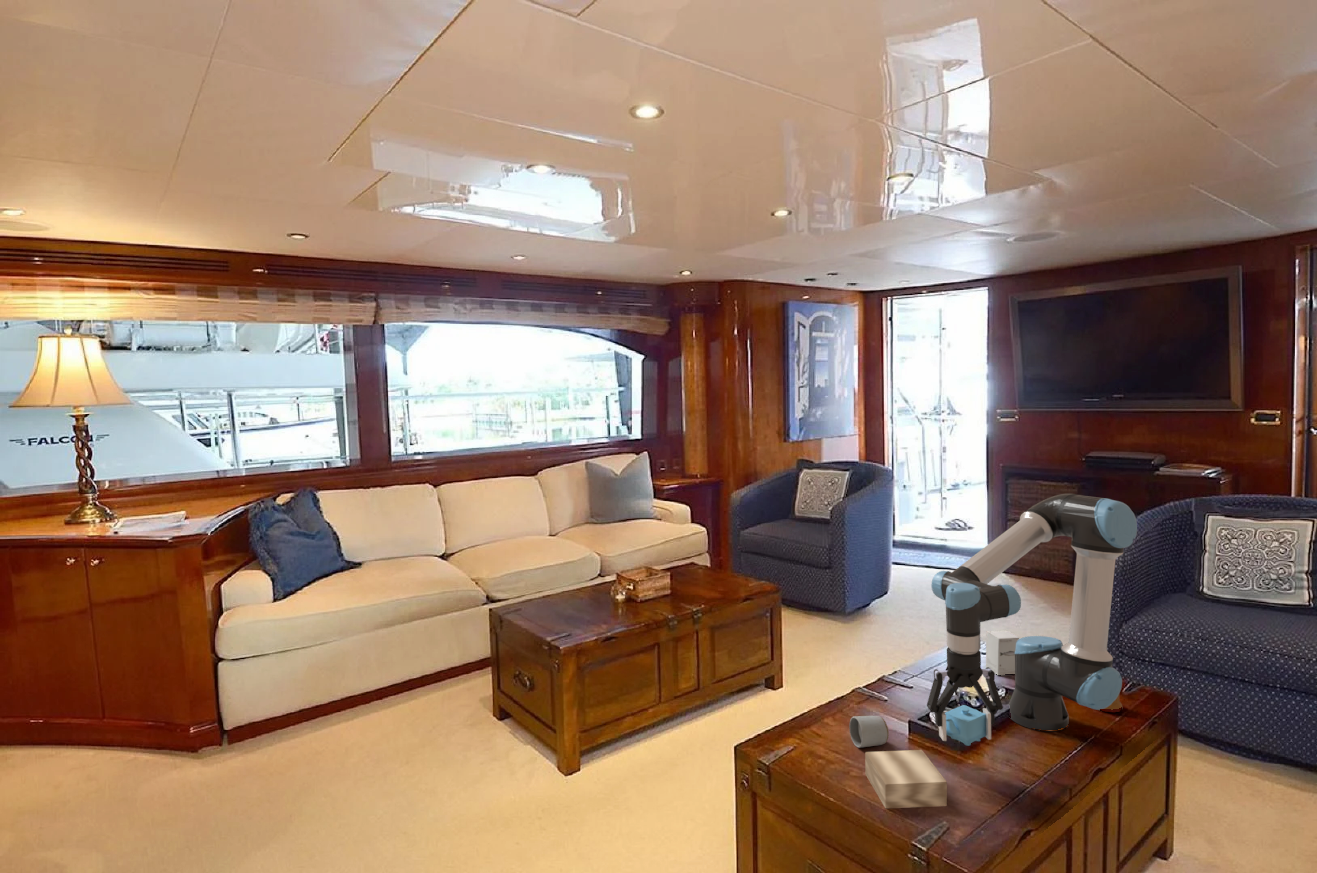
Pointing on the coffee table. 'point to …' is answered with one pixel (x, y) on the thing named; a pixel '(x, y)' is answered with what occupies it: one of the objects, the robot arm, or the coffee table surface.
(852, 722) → the ceramic mug
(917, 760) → the maple block
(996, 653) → the supplement box
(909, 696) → the coffee table surface
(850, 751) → the coffee table surface
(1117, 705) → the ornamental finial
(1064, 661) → the robot arm
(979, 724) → the blue notched cube block
